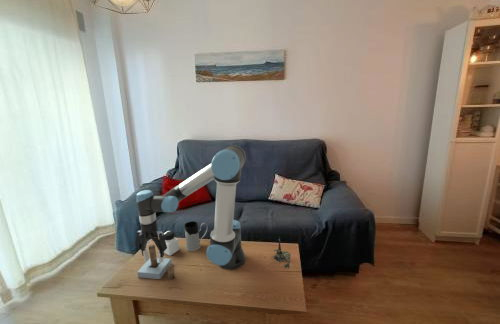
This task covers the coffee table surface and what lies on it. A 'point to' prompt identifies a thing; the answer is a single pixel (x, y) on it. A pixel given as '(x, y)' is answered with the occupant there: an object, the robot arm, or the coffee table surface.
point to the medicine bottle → (171, 243)
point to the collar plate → (154, 269)
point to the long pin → (153, 256)
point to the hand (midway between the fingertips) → (154, 261)
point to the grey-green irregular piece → (282, 256)
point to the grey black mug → (193, 236)
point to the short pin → (170, 271)
